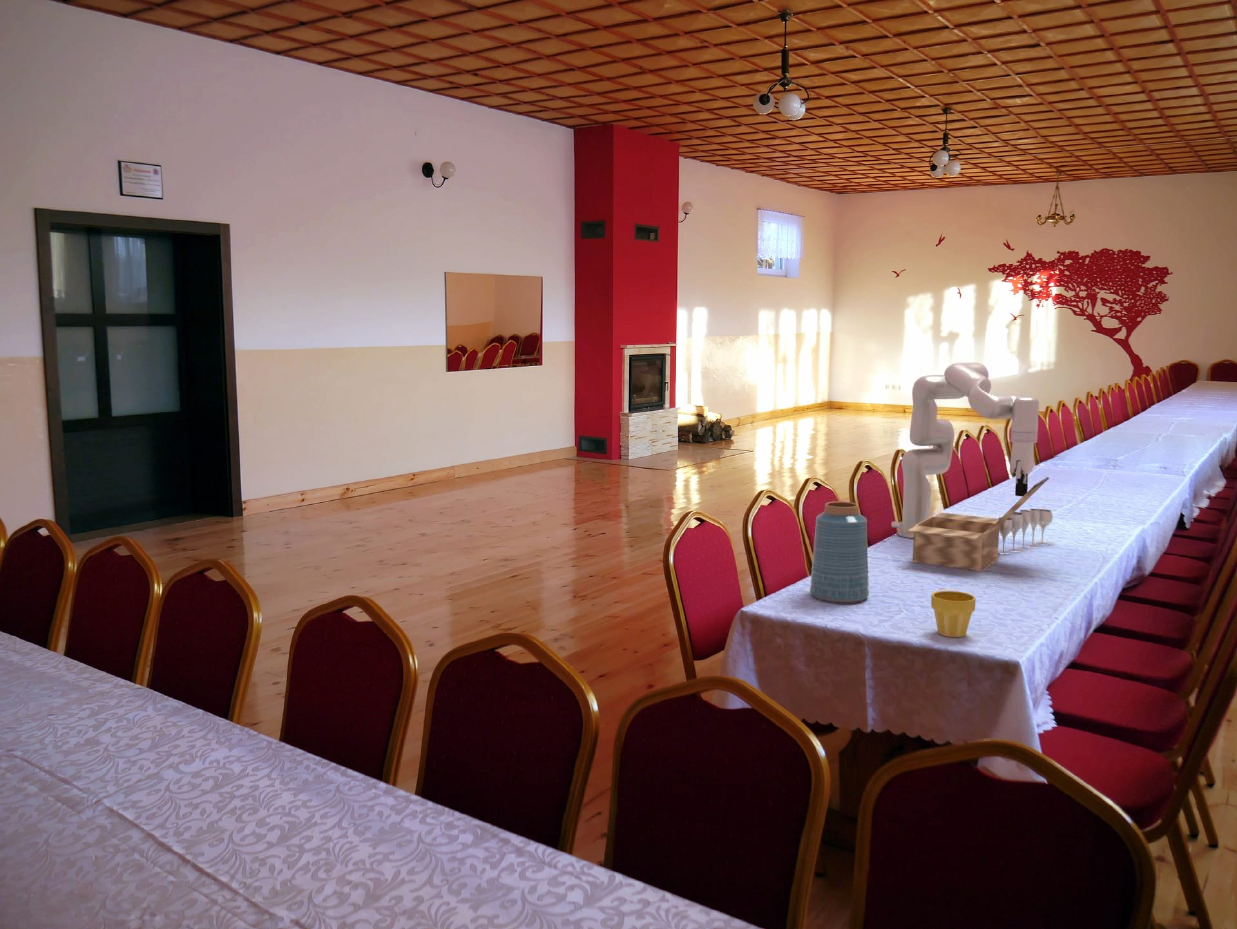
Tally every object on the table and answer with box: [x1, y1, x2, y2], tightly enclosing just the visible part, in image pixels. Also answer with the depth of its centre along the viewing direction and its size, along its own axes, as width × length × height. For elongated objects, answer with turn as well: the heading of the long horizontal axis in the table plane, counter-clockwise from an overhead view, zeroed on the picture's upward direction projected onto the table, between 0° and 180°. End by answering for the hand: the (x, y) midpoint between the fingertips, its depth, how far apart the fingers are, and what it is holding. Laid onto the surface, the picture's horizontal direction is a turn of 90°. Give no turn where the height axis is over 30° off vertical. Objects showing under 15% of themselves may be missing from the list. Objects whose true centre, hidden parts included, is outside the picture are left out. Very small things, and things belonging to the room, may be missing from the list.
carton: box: [908, 512, 1000, 572], centre depth 314 cm, size 22×34×12 cm, turn 145°
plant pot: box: [930, 590, 977, 638], centre depth 242 cm, size 10×10×10 cm
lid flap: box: [985, 476, 1050, 535], centre depth 301 cm, size 22×18×1 cm
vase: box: [809, 500, 870, 605], centre depth 273 cm, size 16×16×27 cm
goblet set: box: [997, 508, 1054, 556], centre depth 330 cm, size 28×6×13 cm, turn 125°
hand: (1021, 495), depth 300 cm, fingers closed
